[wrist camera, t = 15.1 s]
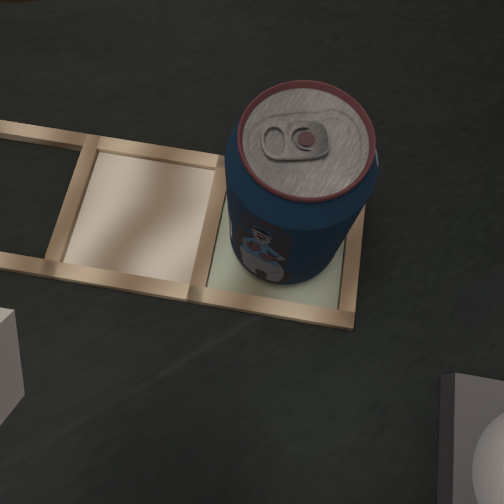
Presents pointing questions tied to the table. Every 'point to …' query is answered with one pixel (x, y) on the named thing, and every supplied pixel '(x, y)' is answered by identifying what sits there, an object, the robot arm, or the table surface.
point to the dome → (470, 440)
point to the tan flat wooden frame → (170, 233)
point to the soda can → (297, 178)
